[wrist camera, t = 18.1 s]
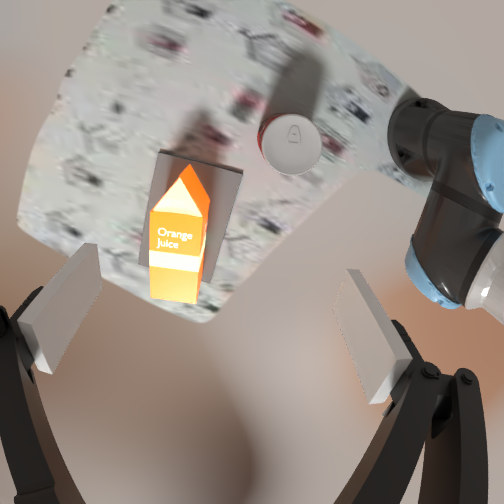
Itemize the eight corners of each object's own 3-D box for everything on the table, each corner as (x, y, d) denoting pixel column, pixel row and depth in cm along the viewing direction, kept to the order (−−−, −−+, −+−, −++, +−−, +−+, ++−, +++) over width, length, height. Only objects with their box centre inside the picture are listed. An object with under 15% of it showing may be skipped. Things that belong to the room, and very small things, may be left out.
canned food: (300, 109, 42) (317, 109, 33) (308, 157, 46) (327, 171, 36) (252, 118, 43) (255, 119, 33) (262, 166, 46) (268, 181, 37)
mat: (242, 173, 47) (242, 174, 46) (210, 281, 56) (210, 283, 55) (159, 152, 45) (158, 152, 44) (139, 262, 53) (138, 264, 53)
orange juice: (149, 297, 46) (150, 173, 37) (161, 269, 54) (166, 161, 45) (197, 304, 46) (208, 179, 38) (203, 275, 54) (214, 166, 45)
